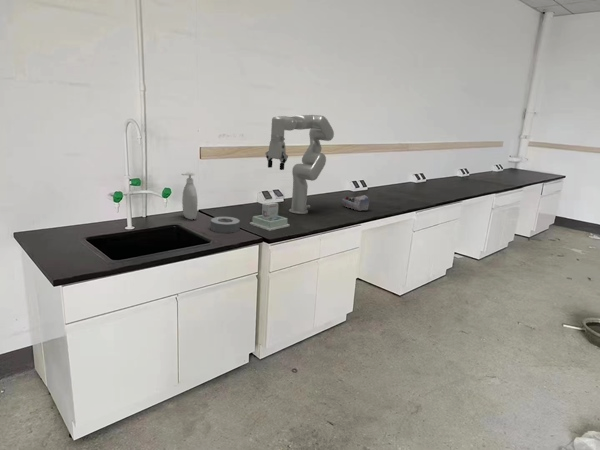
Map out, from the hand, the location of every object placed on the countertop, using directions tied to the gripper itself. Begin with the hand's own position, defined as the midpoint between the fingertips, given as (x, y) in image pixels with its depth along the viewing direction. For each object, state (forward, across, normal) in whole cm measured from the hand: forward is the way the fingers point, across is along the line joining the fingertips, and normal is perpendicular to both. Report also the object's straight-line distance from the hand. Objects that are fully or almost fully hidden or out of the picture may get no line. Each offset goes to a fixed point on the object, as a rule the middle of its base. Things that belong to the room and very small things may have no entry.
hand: (275, 168), depth 241 cm
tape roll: (+31, -1, +38) cm, 49 cm away
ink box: (+30, -10, +13) cm, 34 cm away
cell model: (+31, -14, -69) cm, 77 cm away
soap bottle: (+31, +28, +41) cm, 58 cm away
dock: (+30, -10, +13) cm, 34 cm away
